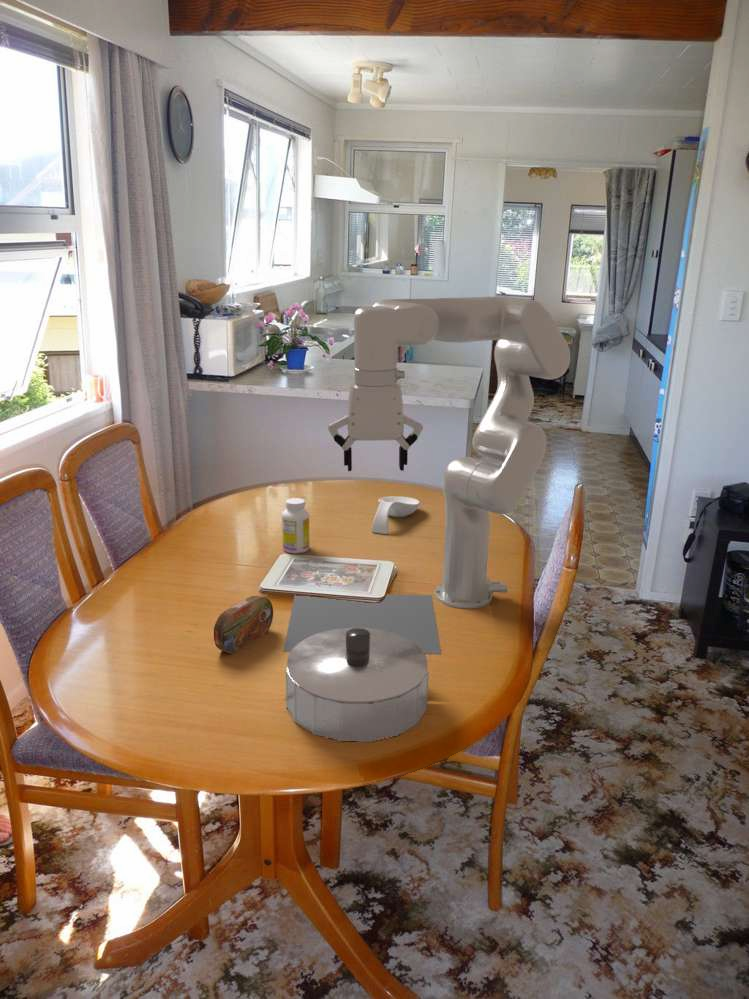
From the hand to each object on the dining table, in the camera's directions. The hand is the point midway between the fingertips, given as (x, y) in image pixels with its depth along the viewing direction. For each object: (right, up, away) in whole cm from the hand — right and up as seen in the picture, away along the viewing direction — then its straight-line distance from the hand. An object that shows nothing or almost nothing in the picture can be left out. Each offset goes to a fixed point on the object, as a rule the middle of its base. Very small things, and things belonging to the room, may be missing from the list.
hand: (375, 468), depth 152 cm
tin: (-26, -34, +7) cm, 43 cm away
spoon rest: (+5, -12, +75) cm, 76 cm away
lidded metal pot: (-3, -40, -12) cm, 42 cm away
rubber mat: (-3, -31, +16) cm, 35 cm away
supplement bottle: (-20, -18, +52) cm, 59 cm away
